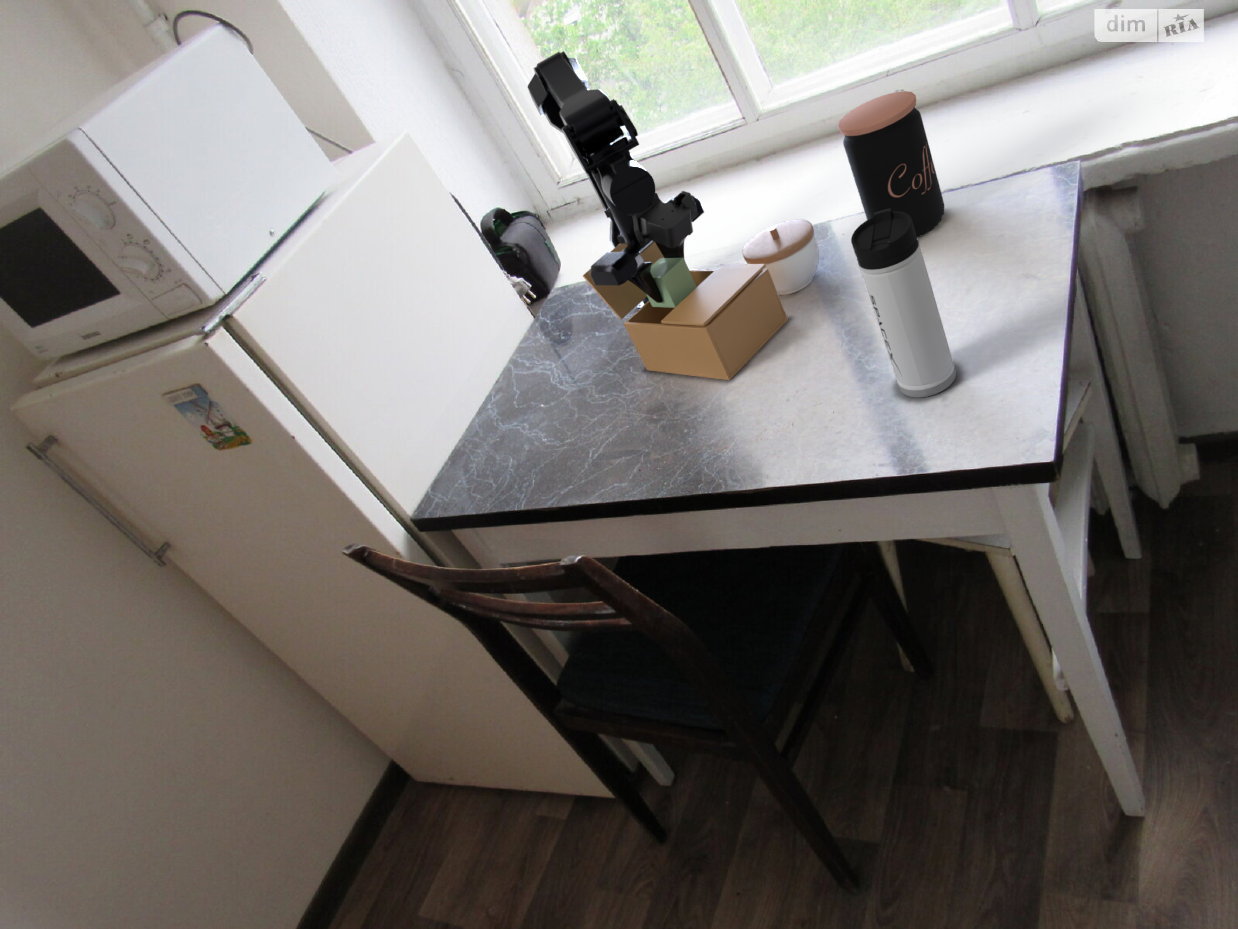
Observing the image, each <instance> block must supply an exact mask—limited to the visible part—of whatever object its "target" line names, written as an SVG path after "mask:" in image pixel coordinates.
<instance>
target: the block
mask: <svg viewBox="0 0 1238 929" xmlns="http://www.w3.org/2000/svg"><path fill="white" fill-rule="evenodd" d="M684 259H685V257H684V258H660V259H659V260H657V261H656V262H655V263H654V264H653V265H652V266H651V270H650V272H651V274H652V276H653V278H654V280H655V283H656V285H657V287H658V289H659V291H660V293H661V296H662V299H663V302H662V303H657V302H656V301H654V300H653V299H652V298H651V297H649V296H648V295H647V294H646V295H647V297H648V299H649V301H650V303H651V305H652V307H670V308H675V307H676V306H678V305H679V304H680V303H681V302H682V301H683V300H684V299H685V298H686V297H687V296H688V295H689V294H690V293H691V292H692V291H694V290H695V289H696V288H697V286H696V284H695V282H694V280H693V277H692V275H691V273H690V271H689V270H690V268H689V267H688V264H687V262H686V260H684Z"/></svg>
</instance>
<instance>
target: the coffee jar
mask: <svg viewBox="0 0 1238 929" xmlns="http://www.w3.org/2000/svg"><path fill="white" fill-rule="evenodd" d="M916 106H917V95H916V94H915V93H914V92H912V91H907V90H904V91H894V92H891V93H887V94H884V95H880V96H878V97H875V98H872V99H870V100H868V101H866V102H863V103H861V104H860V105H858V106H856V107H854V108H853V109H851V110H850V111H849V112H847V113H846V114H845V115H844V116H842V118H841V119H840V120H839V121H838V125H837V128H838V130H839V132H840V134H841V135H842V136H844V137H843V142H842V144H843V149H844V152H845V154H846V157H847V160H848V161H847V162H848V164H849V166H850V167H849V168H850V170H851V173H852V176H853V179H854V183H855V186H856V189H857V192H858V196H859V198H860V202H861V205H862V208H863V211H864V215H865V217H866V220H868V219H870V218H872V217H874V216H873V215H874V213H875V212H879V211H882V210H886V209H889V208H891V211H892V212H893V211H900V212H904V213H907V214H908V215H909V216H910V217H911V219H912V222H913V225H914V229H915V232H916V237H917V238H920V237H922V236H924V235H926V234H927V233H929V232H930V231H933V230H934V229H935V228H936V227H938V226H939V224H940V223H941V221H942V219H943V216H944V213H945V206H946V205H945V202H944V198H943V194H942V191H941V186H940V182H939V179H938V175H937V171H936V168H935V163H934V160H933V159H934V158H933V156H932V152H931V149H930V145H929V140H928V137H927V133H926V129H925V125H924V121H923V118H922V113H921V111H920V110H918V109H917V108H916Z"/></svg>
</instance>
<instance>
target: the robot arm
mask: <svg viewBox="0 0 1238 929" xmlns="http://www.w3.org/2000/svg"><path fill="white" fill-rule="evenodd" d="M533 71H534V73H533V74H534V75H533V76H532V77H531V80H530V81H529V83H528V84H527V90H528V93H529V94H530V95H529V96H530V97H531V100H532V102H533V104H534V106H535V107H536V110H537V112H538V113H539V115H540V116H541V117H543V116H544V117H545V119H546V120H547V122H548V123H549V126H551V127H552V128H554V129H556V130H557V131H559V132H560V133H562V134H563V135H564V138H565V139H566V141H567V144H568V146H569V147H570V149H571V151H572V153H573V154H574V156H575V158H576V159H577V161H578V163H579V165H580V166H581V169H583V172H584V173H585V174H586V176H587V178H588V181H589V182H590V184H591V186H592V188H593V190H594V192H595V194H596V196H597V198H598V200H599V202H600V204H601V206H602V208H603V209H604V214H605V216H606V218H607V219H609V242H610V245H611V246H612V248H613V249H614V248H615V247H617V246H618V245H619V244H627V247H626V248H625V249H624V250H623V251H622V252H611V251H606V252H605V253H604V254H603V255H602V256H601V257H600V258H598V260H596V261H595V262H594V263H593V264H592V265H591V266H590V269H591V270H590V269H589V270H590V274H591V277H592V279H593V281H594V283H595V285H616V286H619V285H621V284H624V283H625V282H626V281H627V280H628V281H630V282H631V283H633V284H634V285H636V286H637V287H638V288H639V289H641V290H642V291H643V292H644V293H646V294H647V295H648V296H649V297H651V298H652V299H653V300H654V301H656V302H657V303H662V302H663V299H662V296H661V293H660V291H659V289H658V287H657V285H656V283H655V280H654V278H653V276H652V274H651V272H650V270H651V266H652V262H644V260H643V258H642V256H641V253H642V252H643V251H644V250H646V249H647V248H648V247H649V246H650V245H651V244H652V243H654V242H655V243H656V245H657V247H658V248H659V250H660V252H661V253H662V255H663V257H664V258H684V260H685V241H686V239H687V237H688V236H691V235H692V234H693V233H694V228H693V223H694V222H695V221H697V220H698V218H700V217H701V216H702V215H703V214H704V213H705V210H704V207H703V205H702V202H701V200H700V199H699V198H698V197H696V196H695V195H693V194H691V192H689V191H685V190H681V191H680V192H679V193H678V194H677V195H676V196H671V197H669V199H668V200H667V201H665V202H663V201H662V200H661V198H659V195H658V193H657V192H656V183H655V180H654V178H653V176H652V174H651V173H650V172H648V170H647V169H645V168H644V167H643V166H642V165H640V164H639V162H637V161H636V160H635V159H634V157H633V156H632V154H631V152H630V151H631V150H632V149H634V148H636V147H638V146H640V143H639V141H638V139H637V137H638V136H639V133H638V130H637V128H636V127H635V124H634V123H633V121H632V120H631V118H630V116H629V115H628V113H627V111H626V109H625V108H624V107H623V105H622V104H620V103H618V101H617V100H616V99H614V98H612V99H610V98H609V97H608V95H606V94H605V92H604V91H602V90H601V89H599V88H597V89H590V87H589V81H588V79H587V77H586V75H585V73H584V71H583V70H582V67H581V65H580V64H579V62H578V60H577V58H575V57H574V58H573V57H569V56H568V55H567V54H566V52H565V51H564V50H563V51H561V52H560V51H557V52H556V53H553V54H551V55H550V56H549V57H546V58H545V59H543V60H541V61H540V62H538V63H536V66H535V67H533ZM625 135H626V136H625ZM685 261H686V260H685ZM648 301H649V299H648V297H646V298H645V299H643V300H642V301H641V302H640V303H639V304H638V305H637V306H636V308H637V309H638V310H639V309H640V308H641V307H642V306H643V305H644V304H645V303H647V302H648Z"/></svg>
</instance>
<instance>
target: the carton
mask: <svg viewBox="0 0 1238 929" xmlns="http://www.w3.org/2000/svg"><path fill="white" fill-rule="evenodd" d="M765 267H766V265H765V264H747V263H736V264H734V263H733V264H732V263H730V264H729V263H727V264H720V265H719V266H717V268H713V269H711V268H709V269H708V268H704V269H700V268H699V269H689V271H690V273H691V275H692V277H693V280H694V282H695V284H696V286H697V288H696V289H695V290H694V291H692V292H691V293H690V294H689V295H688V296H687V297H686V298H685V299H684V300H683V301H682V302H681V303H680V304H679V305H678V306H676V307H675V308H670V307H652V305H651V303H650V301H648V302H647V303H645V304H644V305H643V306H642V307H641V308H640V309H638V310H637V311H635V312H634V313H633V314H632V315H631V316H630V317H629V318H628V319H627V320H626V321H625V322H623V326H624V328H625V330H626V333H627V334H628V335H629V337H630V340H631V341H632V343H633V345H634V347H635V349H636V351H637V353H638V355H639V357H640V359H641V361H642V363H643V365H644V367H645V369H646V370H647V371H651V372H658V373H667V374H676V375H682V376H690V377H691V376H693V377H698V378H708V379H716V380H724V381H731V380H732V379H733V377H735V376H736V374H737V373H738V372H740V370H741V369H742V368H743V367H744V366H745V365H746V364H747V363H748V362H749V361H750V360H751V359H752V358H753V357H754V356H755V355H756V354H757V353H758V352H759V351H760V350H761V349H762V348H763V346H765V344H766V343H768V342H769V340H770V339H771V338H772V337H773V336H774V335H775V334H776V333H777V332H778V331H779V330H781V328H782V327H783V326H784V325H785V324H786V323H787V322H788V321H789V319H788V315H787V313H786V310H785V308H784V305H783V304H782V303H783V302H782V301H781V298H780V295H779V294H778V293H777V291H776V288H775V285H774V283H773V280H772V278H771V275H770V273H769V270H768V269H764V268H765Z"/></svg>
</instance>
